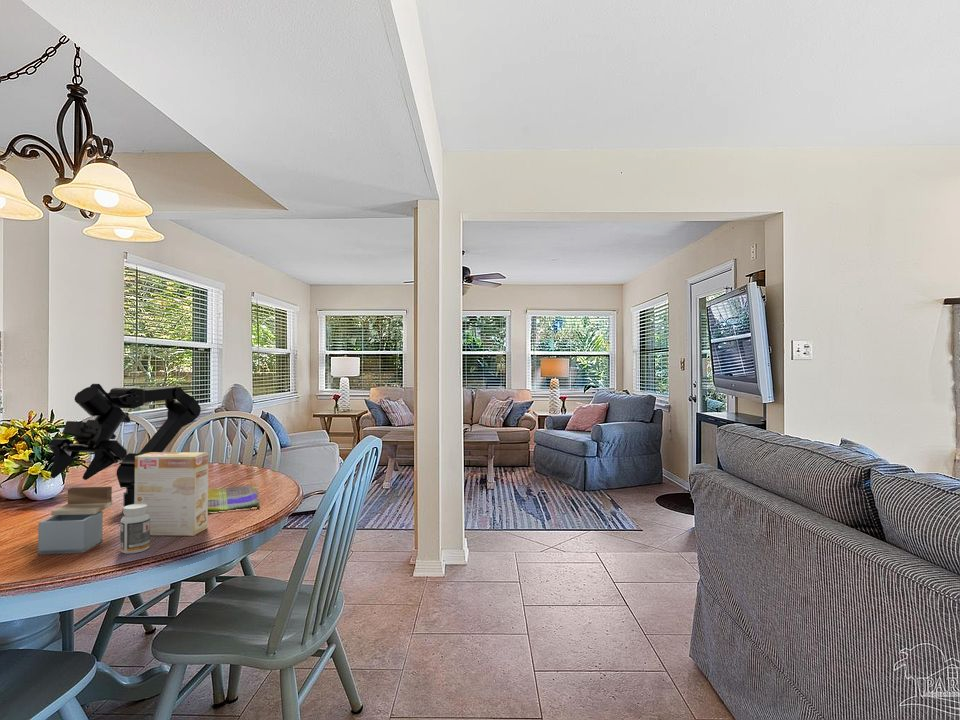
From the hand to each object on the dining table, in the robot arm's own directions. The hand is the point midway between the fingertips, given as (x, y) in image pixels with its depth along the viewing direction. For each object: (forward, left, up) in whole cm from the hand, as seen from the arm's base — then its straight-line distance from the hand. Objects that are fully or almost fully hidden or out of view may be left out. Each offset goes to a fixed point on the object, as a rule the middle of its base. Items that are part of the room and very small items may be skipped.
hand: (67, 478), depth 134 cm
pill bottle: (-11, +25, -14) cm, 31 cm away
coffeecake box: (-20, +15, -14) cm, 29 cm away
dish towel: (-39, -7, -14) cm, 42 cm away
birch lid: (-3, +11, -6) cm, 12 cm away
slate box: (0, +14, -13) cm, 20 cm away
